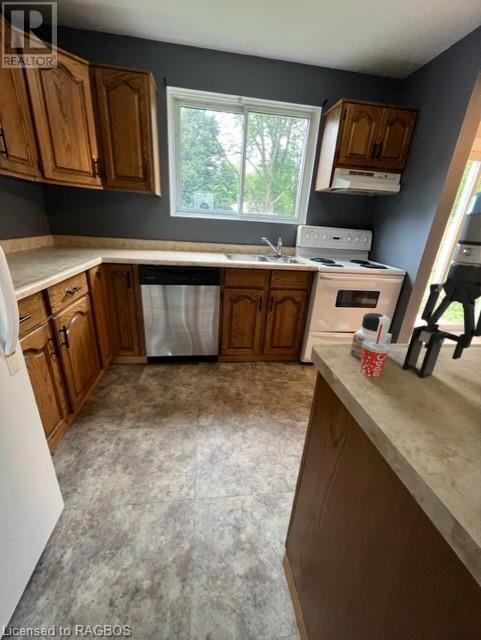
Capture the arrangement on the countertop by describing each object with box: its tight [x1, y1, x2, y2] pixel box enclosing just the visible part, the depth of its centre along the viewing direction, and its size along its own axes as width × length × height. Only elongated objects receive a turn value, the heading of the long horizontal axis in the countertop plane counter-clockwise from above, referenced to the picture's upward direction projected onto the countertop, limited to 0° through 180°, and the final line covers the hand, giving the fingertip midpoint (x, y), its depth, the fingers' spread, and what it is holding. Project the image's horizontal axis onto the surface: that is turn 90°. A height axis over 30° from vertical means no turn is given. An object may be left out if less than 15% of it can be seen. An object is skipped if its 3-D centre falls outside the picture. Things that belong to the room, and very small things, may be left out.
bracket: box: [401, 324, 447, 380], centre depth 66 cm, size 12×9×13 cm
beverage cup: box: [359, 324, 392, 378], centre depth 65 cm, size 6×6×14 cm
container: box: [349, 312, 393, 359], centre depth 74 cm, size 8×8×13 cm
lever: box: [418, 328, 460, 344], centre depth 67 cm, size 12×6×2 cm, turn 119°
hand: (441, 352), depth 71 cm, fingers closed on lever, 6 cm apart
